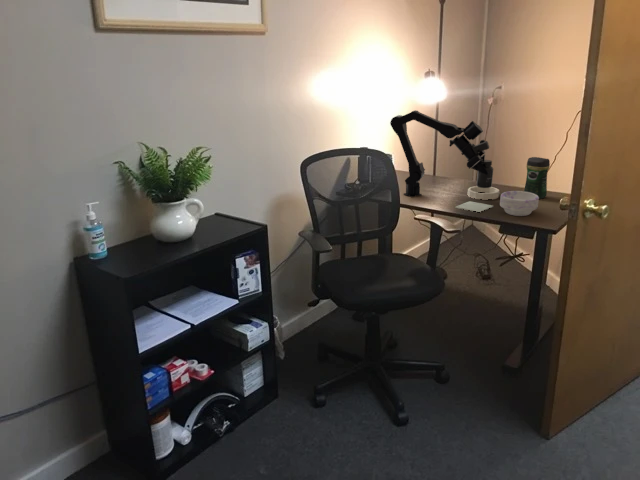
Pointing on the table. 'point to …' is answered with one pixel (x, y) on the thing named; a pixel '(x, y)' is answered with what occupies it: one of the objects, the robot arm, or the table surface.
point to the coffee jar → (537, 176)
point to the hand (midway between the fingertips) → (488, 172)
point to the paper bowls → (519, 202)
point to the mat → (474, 206)
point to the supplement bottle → (484, 179)
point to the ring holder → (489, 193)
